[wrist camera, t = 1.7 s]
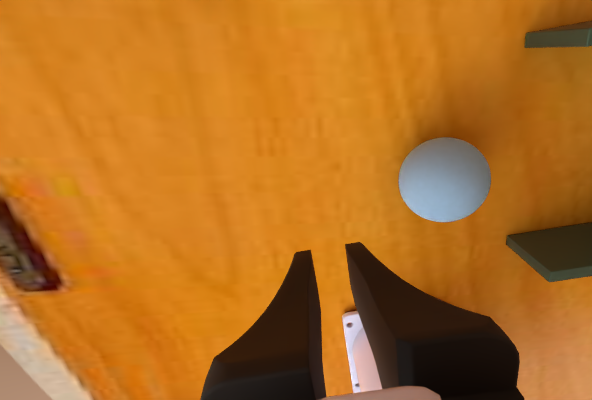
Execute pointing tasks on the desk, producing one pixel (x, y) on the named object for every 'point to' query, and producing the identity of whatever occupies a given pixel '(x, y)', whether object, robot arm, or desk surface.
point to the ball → (444, 179)
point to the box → (570, 239)
